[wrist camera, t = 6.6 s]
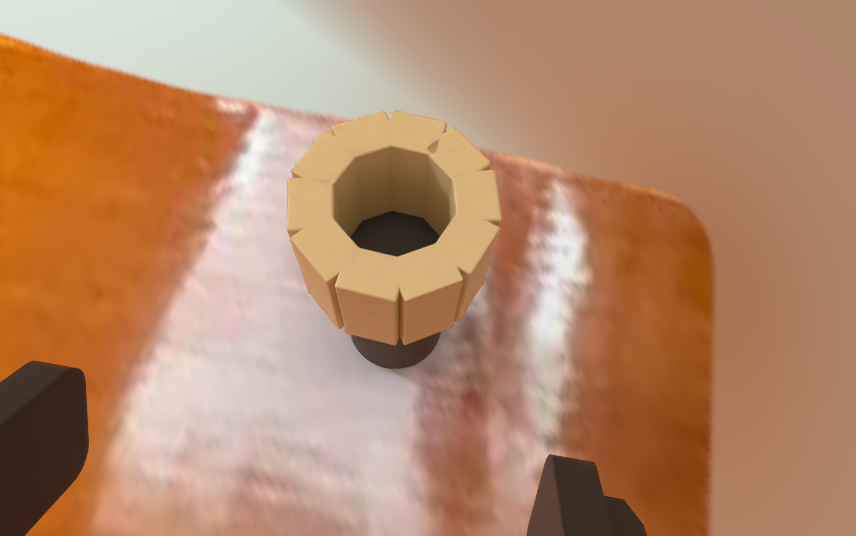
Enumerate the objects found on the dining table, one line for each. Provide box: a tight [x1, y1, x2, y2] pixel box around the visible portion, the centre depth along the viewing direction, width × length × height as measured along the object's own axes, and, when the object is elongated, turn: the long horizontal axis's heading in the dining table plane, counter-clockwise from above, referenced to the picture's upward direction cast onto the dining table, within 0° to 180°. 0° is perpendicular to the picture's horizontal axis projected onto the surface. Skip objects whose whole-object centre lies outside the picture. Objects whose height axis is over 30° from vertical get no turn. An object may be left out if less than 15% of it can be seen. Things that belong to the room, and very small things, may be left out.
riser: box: [350, 211, 441, 368], centre depth 25 cm, size 4×4×7 cm
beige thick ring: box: [287, 110, 502, 345], centre depth 20 cm, size 6×6×4 cm
